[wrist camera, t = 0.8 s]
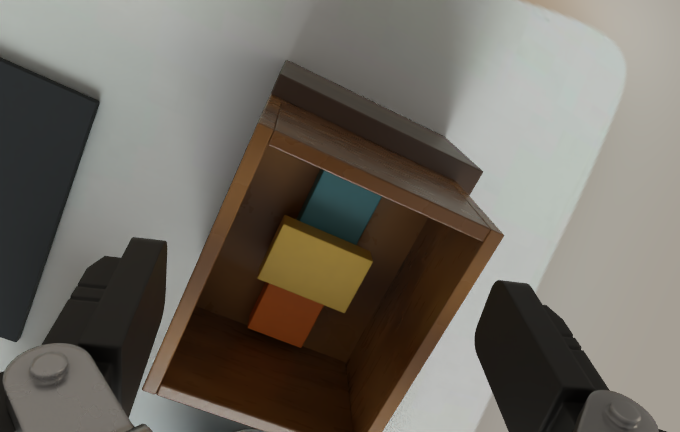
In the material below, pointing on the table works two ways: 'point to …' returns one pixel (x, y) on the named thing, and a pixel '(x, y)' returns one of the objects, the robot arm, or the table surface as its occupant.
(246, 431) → the chinaware
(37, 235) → the mat
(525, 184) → the table surface
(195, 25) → the table surface
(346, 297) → the yellow rectangular block
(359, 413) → the wooden box
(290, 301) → the orange packet
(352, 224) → the teal packet
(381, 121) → the stand
